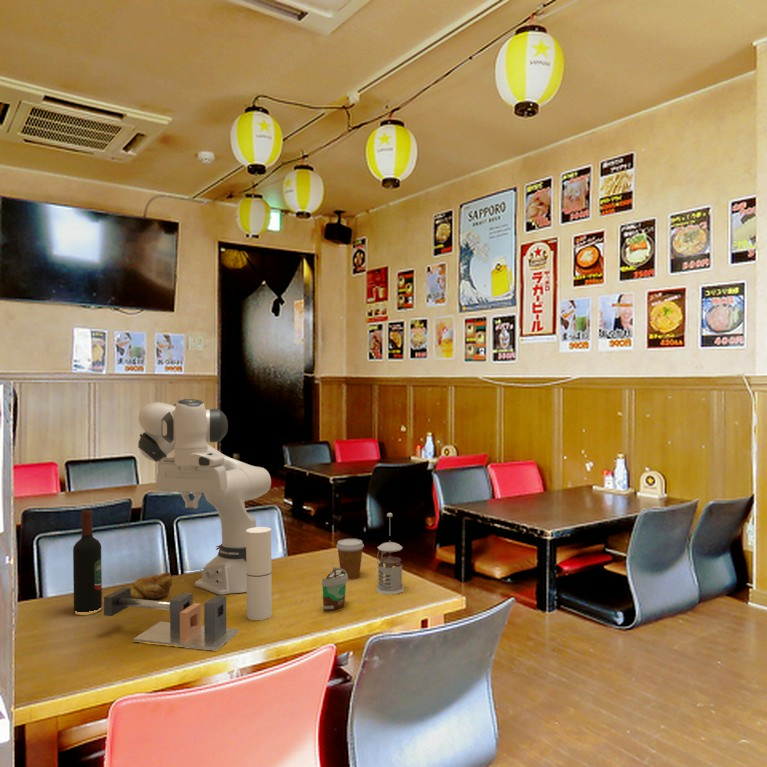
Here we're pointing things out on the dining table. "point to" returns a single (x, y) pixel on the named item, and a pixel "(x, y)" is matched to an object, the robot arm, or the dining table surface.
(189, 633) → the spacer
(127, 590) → the shaft
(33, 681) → the dining table surface
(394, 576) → the french press
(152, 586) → the bread roll
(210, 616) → the shaft frame
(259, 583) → the cylindrical container
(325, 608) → the food container
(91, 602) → the wine bottle
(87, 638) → the dining table surface
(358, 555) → the disposable coffee cup
